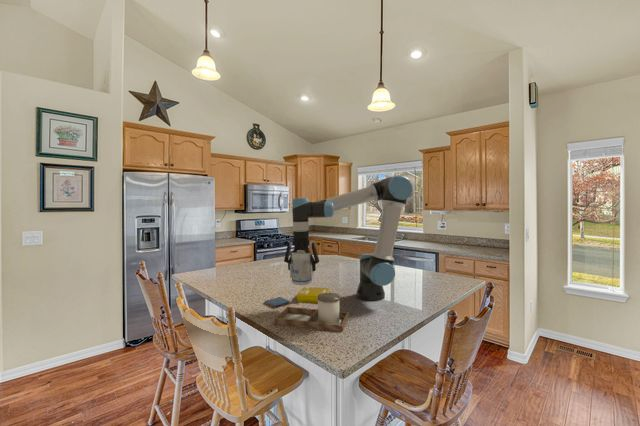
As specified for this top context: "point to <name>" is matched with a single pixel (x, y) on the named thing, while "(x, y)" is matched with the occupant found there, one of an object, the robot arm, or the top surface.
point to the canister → (328, 308)
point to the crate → (309, 319)
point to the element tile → (310, 294)
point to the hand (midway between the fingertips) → (301, 277)
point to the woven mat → (277, 302)
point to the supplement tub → (301, 268)
